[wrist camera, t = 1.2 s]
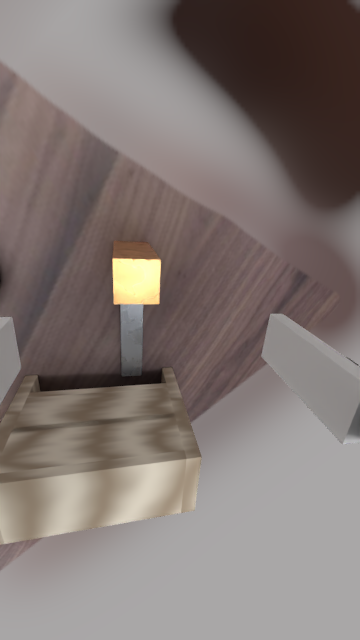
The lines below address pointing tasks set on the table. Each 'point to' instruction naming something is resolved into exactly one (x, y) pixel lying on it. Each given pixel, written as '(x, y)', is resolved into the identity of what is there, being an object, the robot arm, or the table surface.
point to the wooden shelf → (94, 458)
